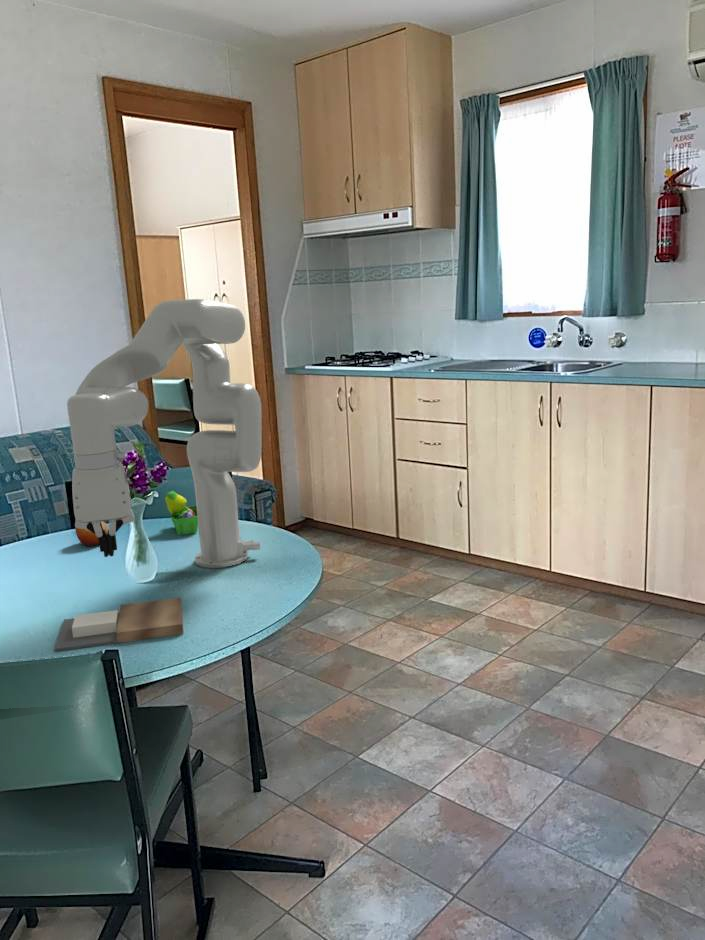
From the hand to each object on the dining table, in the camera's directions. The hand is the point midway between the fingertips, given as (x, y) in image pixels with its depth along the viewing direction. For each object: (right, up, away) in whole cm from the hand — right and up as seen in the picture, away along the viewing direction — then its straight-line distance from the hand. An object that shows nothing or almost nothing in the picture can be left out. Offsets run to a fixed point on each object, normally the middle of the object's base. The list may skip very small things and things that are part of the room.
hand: (109, 554), depth 148 cm
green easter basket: (0, -1, +67) cm, 67 cm away
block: (-3, -14, +2) cm, 15 cm away
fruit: (-22, -4, +58) cm, 62 cm away
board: (+7, -14, +4) cm, 16 cm away
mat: (-4, -15, +2) cm, 16 cm away
